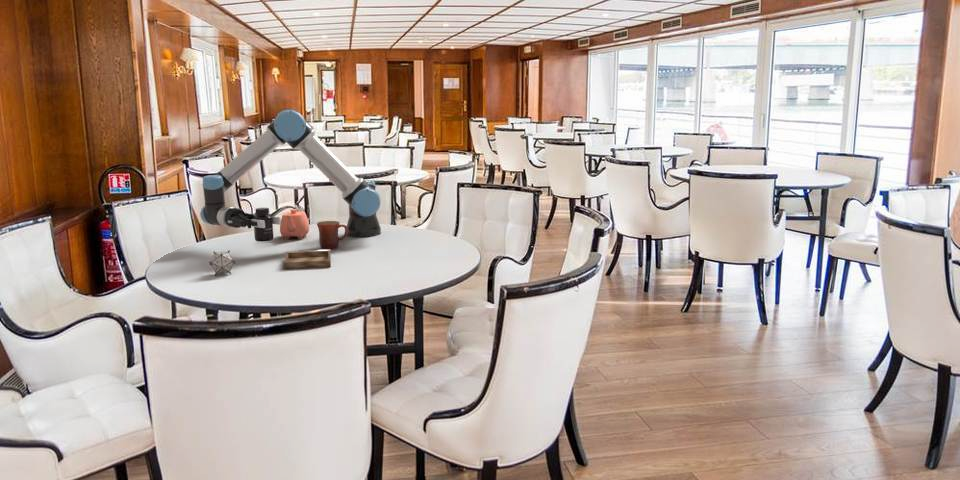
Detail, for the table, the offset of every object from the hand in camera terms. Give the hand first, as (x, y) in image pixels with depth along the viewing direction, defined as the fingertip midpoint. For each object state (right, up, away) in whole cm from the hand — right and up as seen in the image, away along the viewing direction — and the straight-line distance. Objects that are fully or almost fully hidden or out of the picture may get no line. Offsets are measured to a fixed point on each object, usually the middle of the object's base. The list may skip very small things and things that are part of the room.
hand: (272, 222), depth 262 cm
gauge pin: (+14, -12, +7) cm, 20 cm away
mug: (+19, -10, +19) cm, 29 cm away
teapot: (-2, -6, +40) cm, 40 cm away
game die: (-11, -18, -20) cm, 29 cm away
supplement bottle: (-4, -7, +4) cm, 9 cm away
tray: (+15, -15, -5) cm, 21 cm away
